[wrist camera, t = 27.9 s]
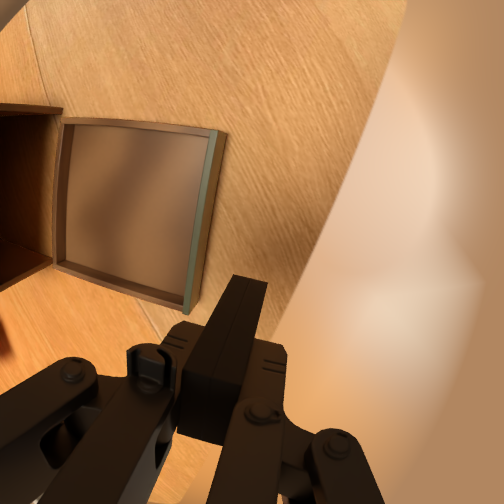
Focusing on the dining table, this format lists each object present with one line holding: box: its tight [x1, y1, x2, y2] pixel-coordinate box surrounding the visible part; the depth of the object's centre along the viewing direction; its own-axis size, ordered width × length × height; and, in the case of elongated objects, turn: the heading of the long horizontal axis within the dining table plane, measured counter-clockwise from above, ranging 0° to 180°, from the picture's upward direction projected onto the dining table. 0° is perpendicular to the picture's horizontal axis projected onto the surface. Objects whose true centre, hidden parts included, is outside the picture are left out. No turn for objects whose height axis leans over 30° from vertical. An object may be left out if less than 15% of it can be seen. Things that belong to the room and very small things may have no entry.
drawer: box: [52, 117, 227, 315], centre depth 25 cm, size 15×15×3 cm
